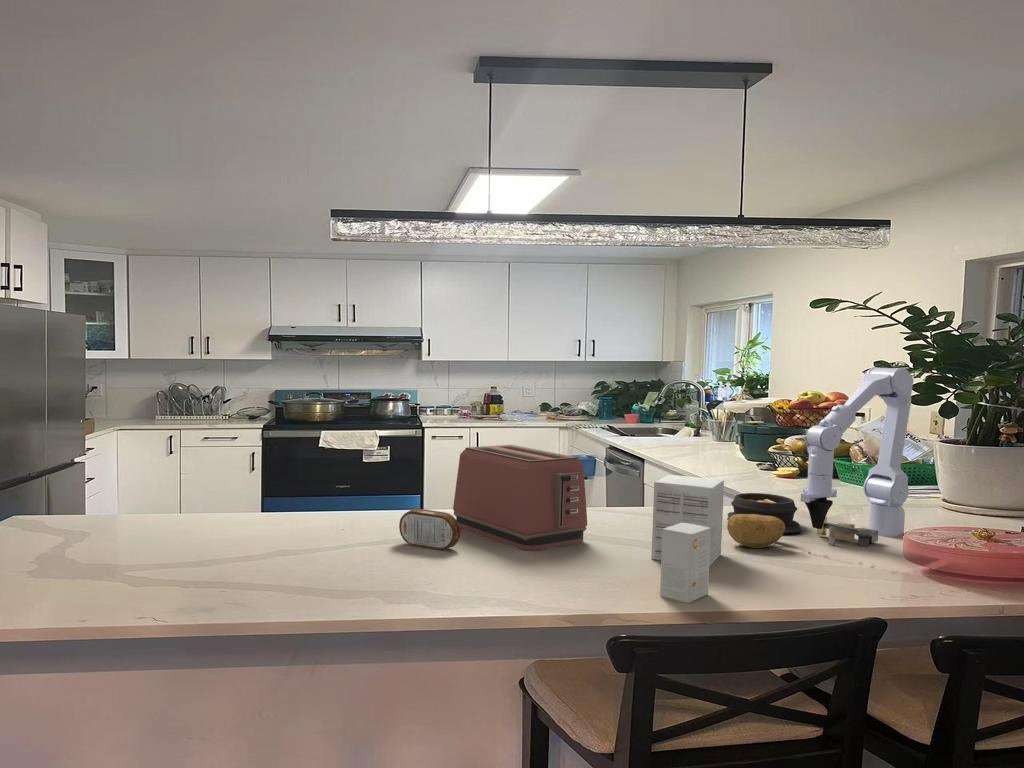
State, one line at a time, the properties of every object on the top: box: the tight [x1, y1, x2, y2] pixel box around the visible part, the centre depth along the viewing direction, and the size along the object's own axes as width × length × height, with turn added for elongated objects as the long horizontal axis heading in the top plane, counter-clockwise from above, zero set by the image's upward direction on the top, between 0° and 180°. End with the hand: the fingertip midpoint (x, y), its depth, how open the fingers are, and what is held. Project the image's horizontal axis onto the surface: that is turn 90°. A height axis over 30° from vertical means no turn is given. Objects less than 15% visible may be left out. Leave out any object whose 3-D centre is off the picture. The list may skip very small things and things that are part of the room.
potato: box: [726, 514, 785, 549], centre depth 190 cm, size 10×14×8 cm
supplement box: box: [650, 474, 725, 568], centre depth 178 cm, size 13×13×18 cm
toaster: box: [452, 444, 588, 552], centre depth 196 cm, size 19×34×20 cm, turn 37°
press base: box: [828, 526, 870, 548], centre depth 194 cm, size 16×20×6 cm
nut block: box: [835, 522, 856, 542], centre depth 197 cm, size 4×4×4 cm
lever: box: [816, 516, 879, 544], centre depth 195 cm, size 7×13×4 cm, turn 42°
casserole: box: [726, 492, 803, 534], centre depth 211 cm, size 25×19×8 cm
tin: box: [398, 507, 461, 551], centre depth 180 cm, size 15×3×8 cm, turn 65°
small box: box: [659, 523, 711, 604], centre depth 150 cm, size 8×6×13 cm
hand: (817, 528), depth 197 cm, fingers closed
